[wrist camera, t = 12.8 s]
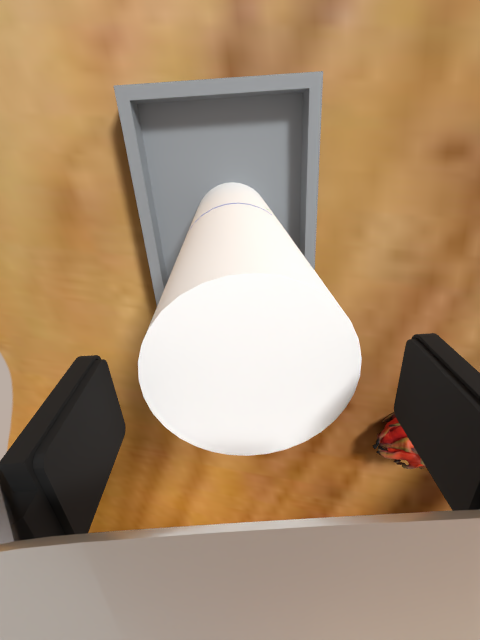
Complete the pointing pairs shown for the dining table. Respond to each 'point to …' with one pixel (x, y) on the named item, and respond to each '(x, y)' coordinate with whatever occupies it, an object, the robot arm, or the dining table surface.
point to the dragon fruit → (397, 444)
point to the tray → (221, 153)
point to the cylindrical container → (246, 335)
